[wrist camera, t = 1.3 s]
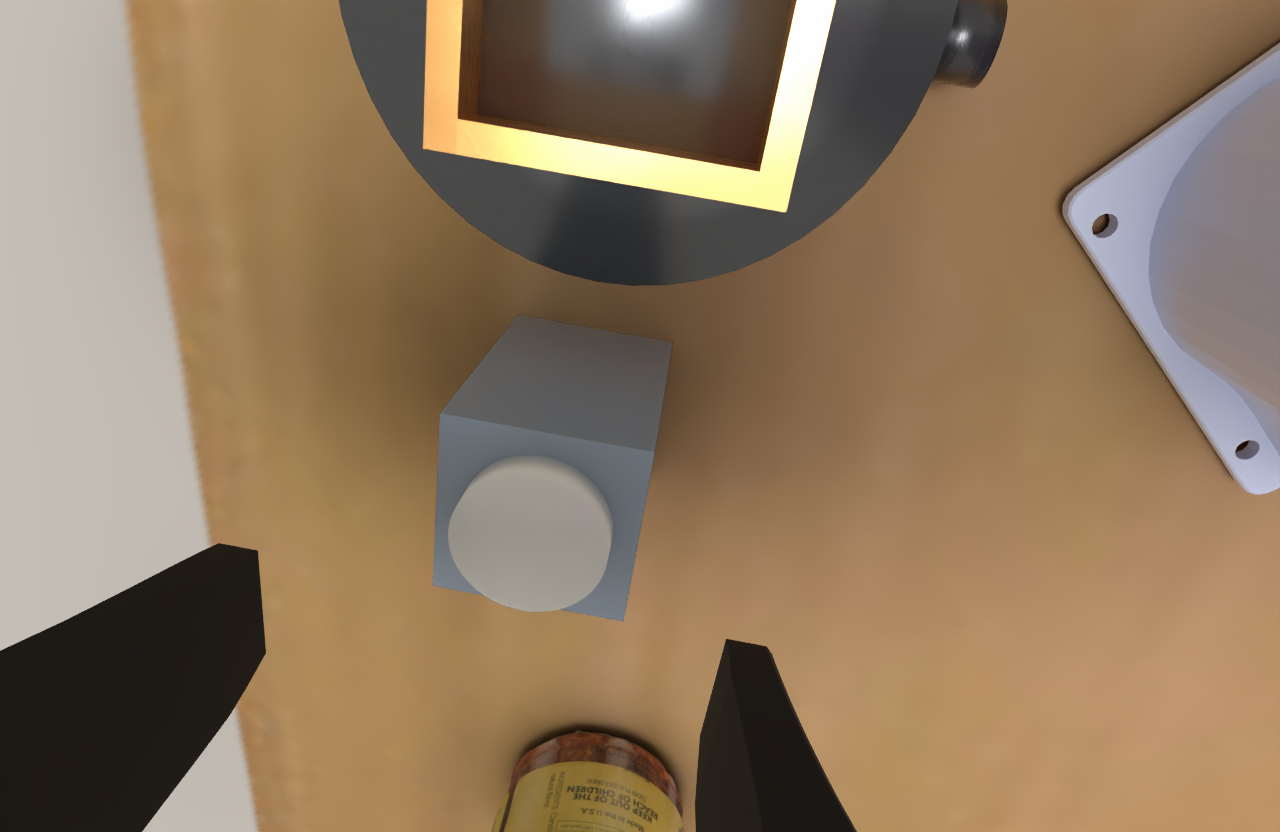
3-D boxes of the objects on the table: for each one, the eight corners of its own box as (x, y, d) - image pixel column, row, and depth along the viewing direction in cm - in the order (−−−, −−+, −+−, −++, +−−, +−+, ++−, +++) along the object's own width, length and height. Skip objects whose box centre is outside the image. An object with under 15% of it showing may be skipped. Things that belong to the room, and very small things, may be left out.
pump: (672, 342, 19) (650, 473, 13) (641, 512, 21) (610, 693, 15) (518, 314, 19) (424, 432, 13) (503, 487, 21) (417, 657, 15)
